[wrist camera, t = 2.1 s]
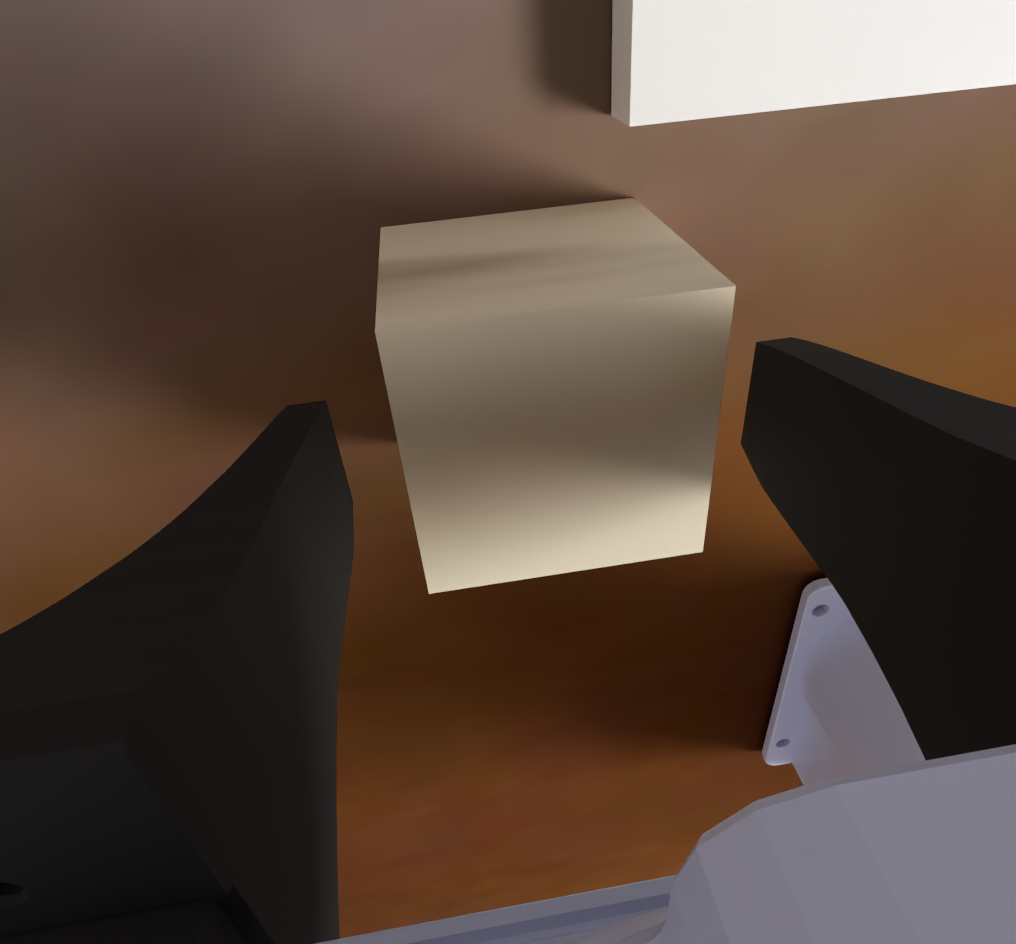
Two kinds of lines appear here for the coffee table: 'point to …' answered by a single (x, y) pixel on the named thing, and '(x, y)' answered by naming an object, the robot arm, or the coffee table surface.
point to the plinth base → (800, 53)
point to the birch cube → (552, 388)
